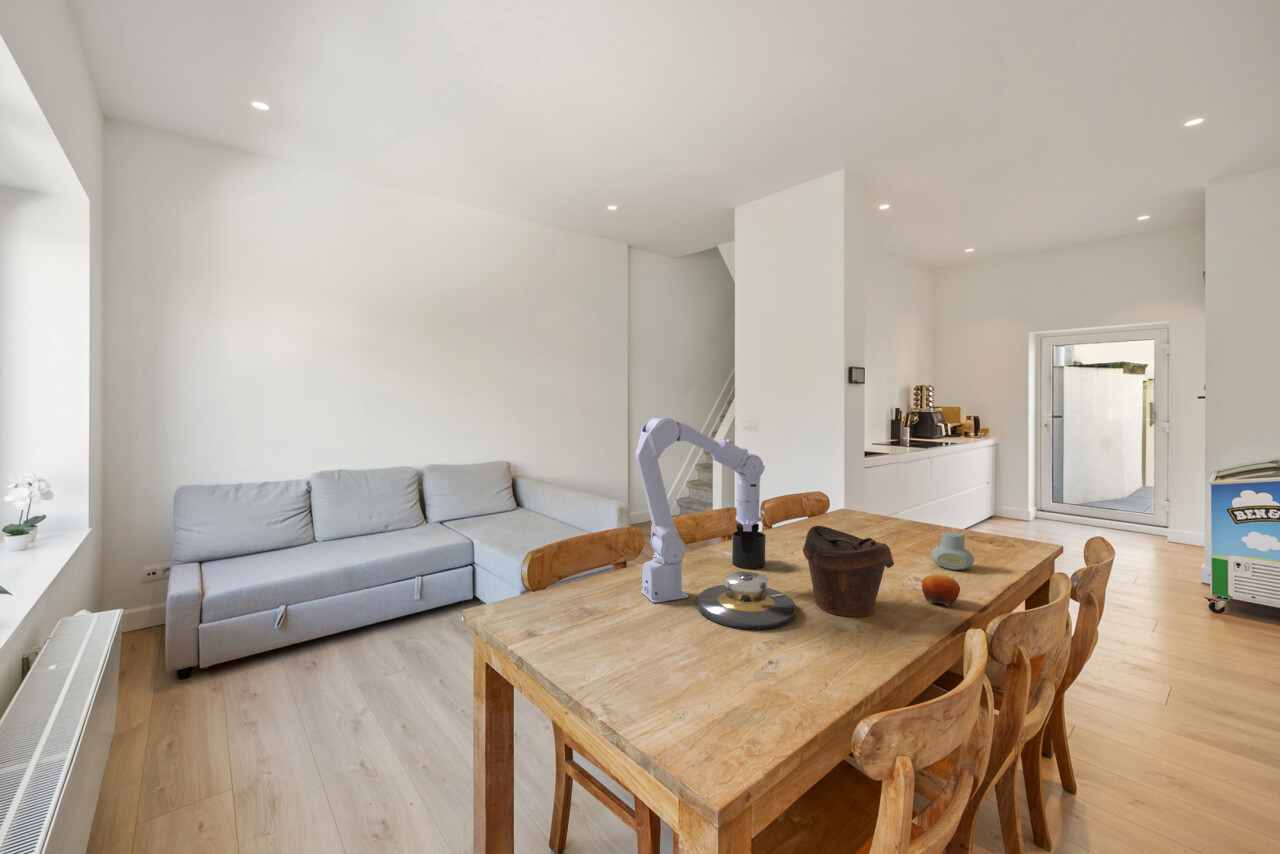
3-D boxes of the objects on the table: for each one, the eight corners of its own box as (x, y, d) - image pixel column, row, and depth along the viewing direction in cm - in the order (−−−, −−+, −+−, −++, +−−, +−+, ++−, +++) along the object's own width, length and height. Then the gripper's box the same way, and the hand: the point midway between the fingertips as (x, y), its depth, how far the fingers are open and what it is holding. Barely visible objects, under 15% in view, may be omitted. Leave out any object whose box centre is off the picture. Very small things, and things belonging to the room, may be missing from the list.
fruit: (921, 601, 127) (922, 568, 130) (921, 608, 133) (922, 576, 136) (961, 608, 123) (961, 573, 126) (958, 615, 129) (959, 581, 132)
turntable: (730, 636, 110) (730, 626, 110) (681, 598, 131) (681, 590, 131) (816, 620, 119) (816, 610, 119) (758, 587, 139) (758, 579, 139)
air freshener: (973, 566, 158) (975, 533, 157) (973, 574, 151) (974, 539, 150) (931, 560, 164) (932, 528, 163) (929, 567, 157) (930, 533, 156)
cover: (739, 602, 123) (740, 585, 123) (717, 588, 132) (717, 572, 132) (776, 596, 127) (776, 580, 127) (751, 583, 136) (752, 567, 136)
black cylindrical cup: (776, 563, 160) (776, 533, 160) (752, 571, 152) (753, 540, 151) (749, 556, 167) (750, 527, 167) (725, 564, 159) (726, 533, 158)
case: (902, 626, 116) (903, 543, 115) (805, 618, 120) (806, 539, 119) (882, 597, 134) (883, 525, 133) (798, 591, 138) (799, 522, 137)
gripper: (764, 506, 130) (763, 561, 131) (763, 495, 144) (762, 545, 145) (735, 505, 132) (734, 560, 132) (736, 494, 146) (735, 544, 147)
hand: (747, 552), depth 139 cm, fingers closed
